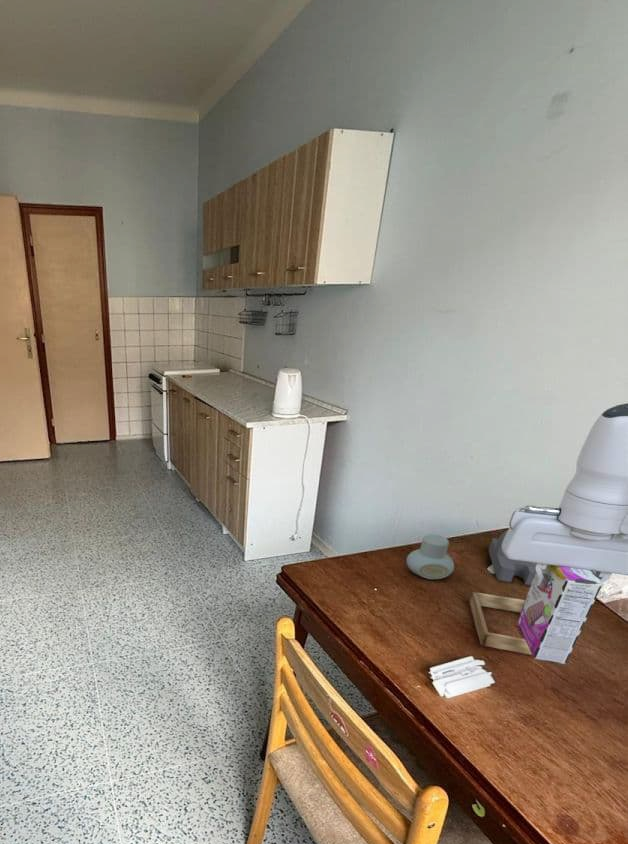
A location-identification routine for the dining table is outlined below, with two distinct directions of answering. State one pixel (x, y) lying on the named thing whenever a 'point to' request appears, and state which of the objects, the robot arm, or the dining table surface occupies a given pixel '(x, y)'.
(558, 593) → the candy bar box
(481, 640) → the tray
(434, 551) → the air freshener
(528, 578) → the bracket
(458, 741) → the dining table surface
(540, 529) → the robot arm
